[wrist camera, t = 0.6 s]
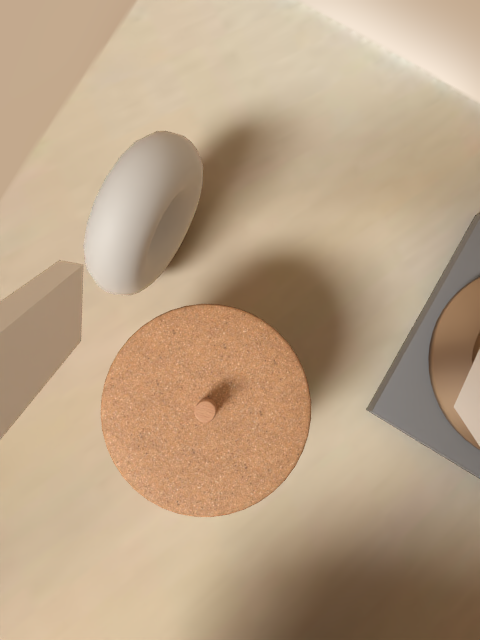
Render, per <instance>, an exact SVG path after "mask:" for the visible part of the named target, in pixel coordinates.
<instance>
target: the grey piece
mask: <svg viewBox="0 0 480 640" xmlns="http://www.w3.org/2000/svg"><path fill="white" fill-rule="evenodd" d="M202 186H203V164H202V161H201V158H200V156H199V153H198V151H197V149H196V148H195V146H194V145H193V143H192V142H191V141H190V140H188V139H187V138H186V137H184V136H182V135H179V134H176V133H172V132H168V131H156V132H154V133H152V134H150V135H148V136H146V137H143V138H141V139H139V140H137V141H136V142H135V143H134V144H133V145H131V146H130V147H129V148H128V149H127V150H126V151H125V152H124V153H123V154H122V155H121V157H120V158H119V159H118V161H117V162H116V163H115V165H114V166H113V168H112V169H111V171H110V172H109V173H108V175H107V176H106V178H105V180H104V182H103V184H102V186H101V188H100V190H99V192H98V194H97V196H96V198H95V201H94V204H93V207H92V210H91V213H90V216H89V219H88V222H87V227H86V234H85V240H84V255H85V263H86V267H87V270H88V272H89V273H90V275H91V276H92V278H93V279H94V281H95V282H96V284H97V285H98V286H99V287H100V288H101V289H103V290H104V291H105V292H108V293H111V294H115V295H133V294H136V293H139V292H140V291H142V290H144V289H145V288H147V287H148V286H149V285H151V284H152V283H153V282H154V281H155V280H156V279H157V278H158V277H159V276H160V275H161V274H162V272H163V271H164V270H165V268H166V267H167V266H168V264H169V263H170V262H171V260H172V258H173V257H174V255H175V253H176V252H177V250H178V249H179V247H180V245H181V243H182V241H183V239H184V237H185V235H186V233H187V231H188V229H189V227H190V224H191V222H192V219H193V217H194V215H195V212H196V209H197V206H198V203H199V200H200V195H201V190H202Z"/></svg>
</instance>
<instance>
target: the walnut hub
mask: <svg viewBox="0 0 480 640" xmlns="http://www.w3.org/2000/svg"><path fill="white" fill-rule="evenodd" d="M479 349H480V277H479V278H477V279H475V280H474V281H472V282H470V283H468V284H467V285H466V286H464V287H463V288H462V289H461V290H459V291H458V292H457V293H456V294H455V295H454V296H453V297H452V298H451V299H450V300H449V302H448V303H447V305H446V306H445V307H444V309H443V310H442V312H441V314H440V316H439V318H438V319H437V321H436V324H435V327H434V329H433V332H432V336H431V341H430V345H429V356H428V361H429V374H430V381H431V385H432V388H433V392H434V395H435V398H436V400H437V402H438V404H439V407H440V409H441V410H442V412H443V414H444V415H445V417H446V419H447V420H448V421H449V423H450V424H451V425H452V426H453V428H454V429H455V430H456V431H457V432H458V433H459V434H460V435H461V436H462V437H463V438H464V439H465V440H466V441H468V442H469V443H470V444H471V445H473V446H474V447H475V448H477V449H479V450H480V446H479V445H478V443H477V442H476V440H475V439H474V437H473V435H472V434H471V432H470V431H469V429H468V428H467V426H466V425H465V423H464V422H463V420H462V419H461V417H460V416H459V414H458V413H457V411H456V410H455V408H454V405H455V402H456V400H457V398H458V396H459V394H460V391H461V389H462V387H463V385H464V382H465V380H466V378H467V376H468V374H469V371H470V369H471V367H472V365H473V362H474V360H475V358H476V356H477V353H478V351H479Z"/></svg>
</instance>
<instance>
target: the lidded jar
mask: <svg viewBox="0 0 480 640" xmlns="http://www.w3.org/2000/svg"><path fill="white" fill-rule="evenodd" d="M101 421H102V431H103V435H104V438H105V442H106V446H107V449H108V451H109V453H110V456H111V458H112V460H113V462H114V464H115V465H116V467H117V468H118V470H119V472H120V473H121V475H122V476H123V477H124V479H125V480H126V481H127V482H128V483H129V484H130V485H131V486H132V487H133V488H134V489H135V490H136V491H137V492H138V493H140V494H141V495H142V496H143V497H145V498H146V499H147V500H149V501H151V502H153V503H154V504H156V505H158V506H160V507H162V508H164V509H167V510H170V511H172V512H175V513H178V514H183V515H189V516H194V517H214V516H221V515H227V514H231V513H234V512H237V511H241V510H244V509H246V508H248V507H250V506H252V505H254V504H256V503H258V502H260V501H261V500H263V499H264V498H265V497H267V496H268V495H269V494H271V493H272V492H273V491H274V490H275V489H276V488H277V487H278V486H279V485H280V484H281V483H282V482H283V481H284V480H285V479H286V478H287V477H288V475H289V474H290V473H291V471H292V470H293V468H294V467H295V465H296V464H297V462H298V460H299V458H300V456H301V454H302V452H303V449H304V446H305V443H306V440H307V437H308V433H309V427H310V421H311V399H310V392H309V385H308V382H307V379H306V376H305V372H304V370H303V367H302V365H301V363H300V361H299V359H298V357H297V355H296V354H295V352H294V351H293V349H292V348H291V347H290V345H289V344H288V342H287V341H286V340H285V339H284V338H283V337H282V336H281V335H280V334H279V333H278V332H277V331H276V330H275V329H274V328H272V327H271V326H270V325H269V324H267V323H266V322H265V321H263V320H261V319H260V318H258V317H256V316H254V315H252V314H250V313H248V312H245V311H243V310H240V309H237V308H234V307H229V306H224V305H218V304H198V305H190V306H184V307H181V308H177V309H174V310H171V311H168V312H166V313H164V314H162V315H160V316H158V317H156V318H154V319H153V320H151V321H150V322H148V323H147V324H145V325H144V326H142V327H141V328H140V329H139V330H138V331H137V332H135V333H134V334H133V335H132V336H131V337H130V338H129V339H128V341H127V342H126V343H125V344H124V346H123V347H122V348H121V349H120V351H119V352H118V354H117V356H116V358H115V359H114V361H113V363H112V365H111V367H110V370H109V372H108V375H107V377H106V380H105V384H104V389H103V393H102V401H101Z"/></svg>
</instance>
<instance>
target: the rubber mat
mask: <svg viewBox="0 0 480 640" xmlns="http://www.w3.org/2000/svg"><path fill="white" fill-rule="evenodd" d="M479 277H480V213H479V214H477V215H475V217H474V219H473V221H472V222H471V224H470V226H469V228H468V230H467V231H466V233H465V235H464V237H463V238H462V240H461V242H460V244H459V246H458V247H457V249H456V251H455V253H454V254H453V256H452V258H451V260H450V262H449V263H448V265H447V267H446V269H445V270H444V272H443V274H442V276H441V278H440V279H439V281H438V283H437V285H436V286H435V288H434V290H433V292H432V294H431V295H430V297H429V299H428V301H427V303H426V304H425V306H424V308H423V310H422V311H421V313H420V315H419V317H418V319H417V320H416V322H415V324H414V326H413V327H412V329H411V331H410V333H409V335H408V336H407V338H406V340H405V342H404V343H403V345H402V347H401V349H400V351H399V352H398V354H397V356H396V358H395V359H394V361H393V363H392V365H391V367H390V368H389V370H388V372H387V374H386V375H385V377H384V379H383V381H382V383H381V384H380V386H379V388H378V390H377V391H376V393H375V395H374V397H373V399H372V400H371V402H370V404H369V406H368V407H367V409H366V410H367V411H369V412H371V413H372V414H374V415H375V416H377V417H379V418H380V419H382V420H384V421H385V422H387V423H389V424H390V425H392V426H394V427H395V428H397V429H399V430H400V431H402V432H404V433H405V434H407V435H408V436H410V437H412V438H413V439H415V440H417V441H418V442H420V443H422V444H423V445H425V446H427V447H428V448H430V449H432V450H433V451H435V452H437V453H438V454H440V455H441V456H443V457H445V458H446V459H448V460H450V461H451V462H453V463H455V464H456V465H458V466H460V467H461V468H463V469H465V470H466V471H468V472H470V473H471V474H473V475H474V476H476V477H478V478H479V479H480V450H479V449H477V448H475V447H474V446H473V445H471V444H470V443H469V442H468V441H466V440H465V439H464V438H463V437H462V436H461V435H460V434H459V433H458V432H457V431H456V430H455V429H454V428H453V426H452V425H451V424H450V423H449V421H448V420H447V419H446V417H445V415H444V414H443V412H442V410H441V409H440V407H439V404H438V402H437V400H436V398H435V395H434V392H433V388H432V385H431V381H430V374H429V361H428V356H429V345H430V341H431V336H432V332H433V329H434V327H435V324H436V321H437V319H438V318H439V316H440V314H441V312H442V310H443V309H444V307H445V306H446V305H447V303H448V302H449V300H450V299H451V298H452V297H453V296H454V295H455V294H456V293H457V292H458V291H459V290H461V289H462V288H463V287H464V286H466V285H467V284H468V283H470V282H472V281H474V280H475V279H477V278H479Z"/></svg>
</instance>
